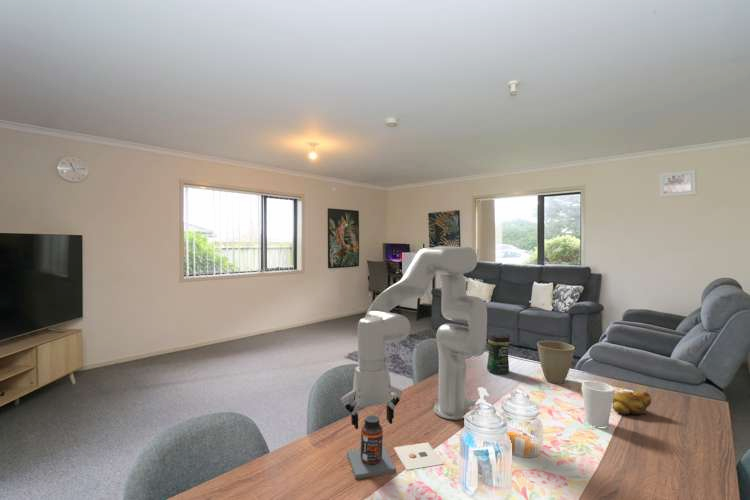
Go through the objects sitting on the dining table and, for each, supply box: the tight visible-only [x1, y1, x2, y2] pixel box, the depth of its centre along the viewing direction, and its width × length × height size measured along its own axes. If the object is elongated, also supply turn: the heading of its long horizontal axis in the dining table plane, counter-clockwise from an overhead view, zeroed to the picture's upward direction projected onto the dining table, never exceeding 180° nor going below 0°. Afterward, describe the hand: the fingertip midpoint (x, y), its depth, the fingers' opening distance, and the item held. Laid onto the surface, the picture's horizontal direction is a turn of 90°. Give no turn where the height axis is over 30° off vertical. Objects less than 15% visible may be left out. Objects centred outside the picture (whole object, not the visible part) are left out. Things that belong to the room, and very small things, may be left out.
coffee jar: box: [486, 331, 511, 375], centre depth 173 cm, size 10×8×19 cm
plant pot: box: [536, 340, 576, 385], centre depth 162 cm, size 15×15×16 cm
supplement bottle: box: [360, 415, 384, 464], centre depth 101 cm, size 6×6×11 cm
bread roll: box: [612, 390, 652, 415], centre depth 134 cm, size 13×10×8 cm
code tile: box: [393, 441, 445, 471], centre depth 104 cm, size 11×11×1 cm
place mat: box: [346, 445, 397, 479], centre depth 101 cm, size 11×11×1 cm
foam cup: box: [581, 380, 615, 428], centre depth 124 cm, size 10×9×13 cm
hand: (372, 423), depth 101 cm, fingers open, 9 cm apart
